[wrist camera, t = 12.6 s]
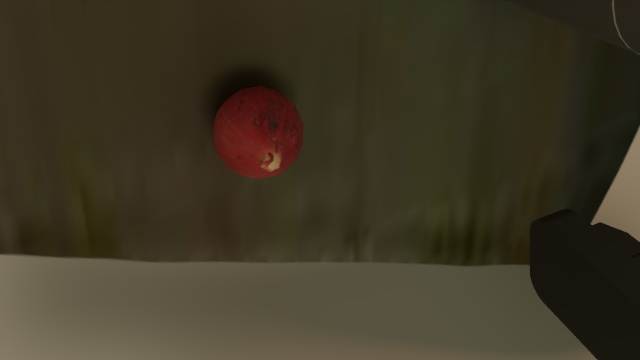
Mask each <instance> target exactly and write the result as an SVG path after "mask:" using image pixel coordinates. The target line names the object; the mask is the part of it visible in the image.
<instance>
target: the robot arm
mask: <svg viewBox="0 0 640 360" xmlns="http://www.w3.org/2000/svg"><path fill="white" fill-rule="evenodd" d="M505 1H507V2H510V3H512V4H515V5H517V6H520V7H521V8H524V9H526V10H529V11H531V12H534V13H536V14H539V15H541V16H544V17H546V18H549V19H551V20H554V21H556V22H559V23H561V24H564V25H566V26H569V27H571V28H574V29H576V30H579V31H581V32H584V33H586V34H589V35H591V36H594V37H596V38H599V39H601V40H604V41H606V42H609V43H611V44H614V45H616V46H619V47H621V48H624V49H626V50H629V51H631V52H634V53H636V54H639V55H640V0H505ZM530 277H531V281H532V284H533V287H534V289H535V291H536V293H537V294H538V296H539V297H540V299H541V300H542V301H543V302H544V304H545V305H546V306H547V307H548V308H549V309H550V310H551V311H552V312H553V313H554V314H555V315H556V316H557V317H558V318H559V319H560V320H561V322H562V323H563V324H564V325H565V326H566V327H567V328H568V329H569V330H570V331H571V332H572V333H573V334H574V335H575V336H576V337H577V339H579V341H580V342H581V343H582V344H583V345H584V346H585V347H586V348H587V349H588V350H589V351H590V352H591V353H592V354H593V355H594V357H595V358H596V359H597V360H640V242H639V241H637V240H636V239H635V238H633V237H632V236H631V235H629V234H628V233H626V232H624V231H621V230H619V229H616V228H614V227H611V226H608V225H606V224H603V223H597V224H595V225H591V224H590V223H588V222H587V221H586V220H585V219H583V218H582V217H581V216H580V215H578V214H577V213H576V212H574V211H573V210H571V209H563V210H560V211H558V212H555V213H553V214H550V215H547V216H545V217H542V218H540V219H537V220H535V221H533V222H532V223H531V226H530Z"/></svg>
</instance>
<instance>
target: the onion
mask: <svg viewBox="0 0 640 360" xmlns="http://www.w3.org/2000/svg"><path fill="white" fill-rule="evenodd" d="M213 139H214V146H215V150H216V152H217V154H218V155H219V156H220V158H221V159H222V161H223V162H224V163H225V165H226V166H227V167H228V168H230V169H232V170H233V171H235V172H237V173H239V174H240V175H243V176H246V177H252V178H258V179H261V178H266V177H271V176H275V175H277V174H279V173H281V172H283V171H284V170H286V169H288V168H289V167H290V165H291V164H292V163H293V162H294V161H295V160H296V159H297V157H298V155H299V152H300V149H301V147H302V144H303V123H302V121H301V118H300V116H299V114H298V112H297V109H296V107H295V105H294V104H293V103H292V102H290V101H289V100H288V99H287V98H286V97H285V96H284V95H282V94H281V93H280V92H279V91H278V90H274V89H271V88H267V87H263V86H255V87H250V88H244V89H241V90H239V91H238V92H236V93H235V94H233V95H232V96H231V97H229V98H228V99H226V101H225V102H224V103H223V105H222V106H221V107H220V109H219V110H218V111H217V113H216V117H215V121H214V124H213Z"/></svg>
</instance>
